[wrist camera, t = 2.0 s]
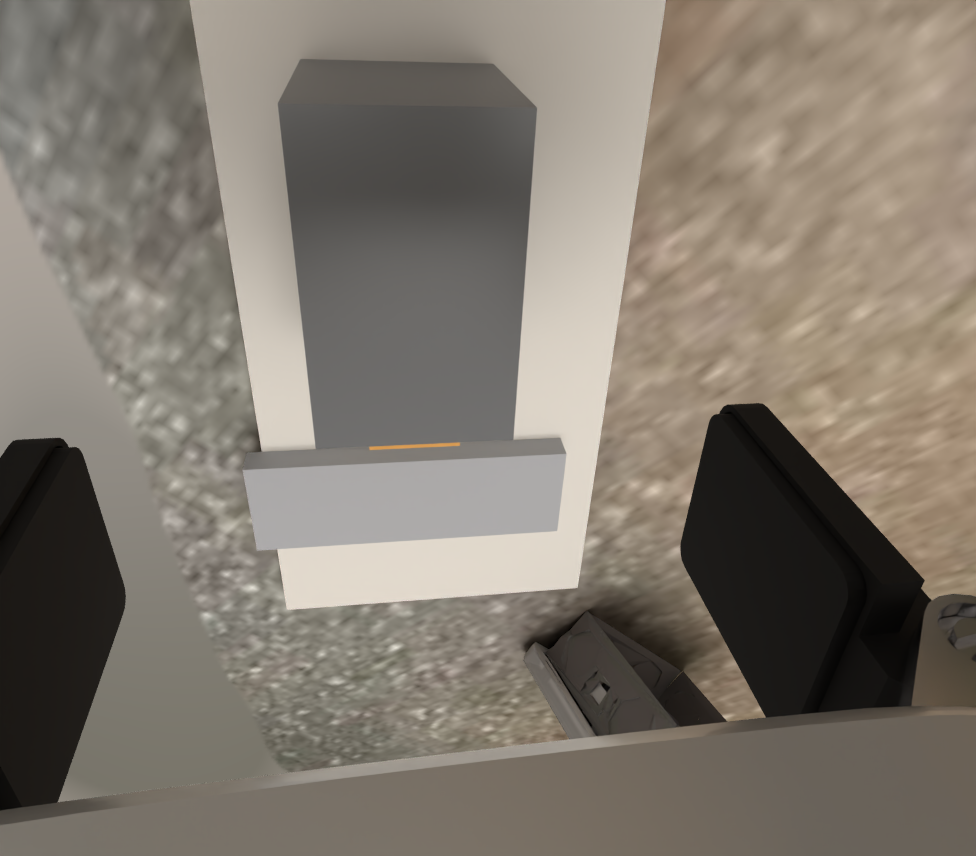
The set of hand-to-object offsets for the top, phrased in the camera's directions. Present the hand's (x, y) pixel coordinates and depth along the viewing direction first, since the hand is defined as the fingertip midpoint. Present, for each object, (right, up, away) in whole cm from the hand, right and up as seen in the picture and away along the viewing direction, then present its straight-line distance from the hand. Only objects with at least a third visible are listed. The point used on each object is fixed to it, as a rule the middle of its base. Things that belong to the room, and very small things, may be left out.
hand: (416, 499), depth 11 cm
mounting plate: (-1, +4, +14) cm, 15 cm away
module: (-1, +7, +10) cm, 13 cm away
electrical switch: (+7, -10, +25) cm, 28 cm away
